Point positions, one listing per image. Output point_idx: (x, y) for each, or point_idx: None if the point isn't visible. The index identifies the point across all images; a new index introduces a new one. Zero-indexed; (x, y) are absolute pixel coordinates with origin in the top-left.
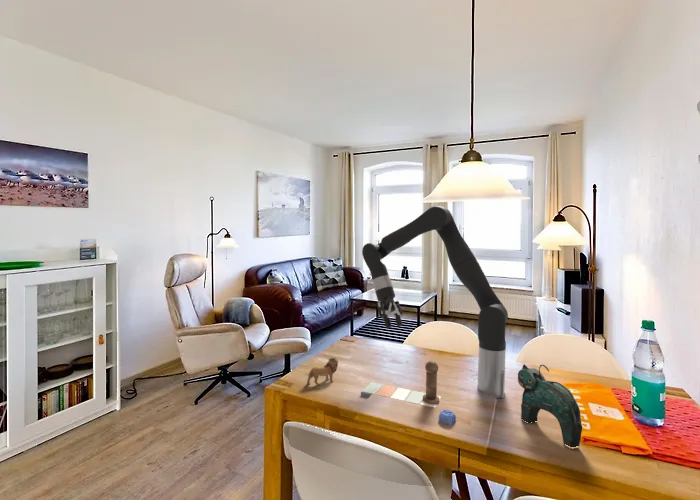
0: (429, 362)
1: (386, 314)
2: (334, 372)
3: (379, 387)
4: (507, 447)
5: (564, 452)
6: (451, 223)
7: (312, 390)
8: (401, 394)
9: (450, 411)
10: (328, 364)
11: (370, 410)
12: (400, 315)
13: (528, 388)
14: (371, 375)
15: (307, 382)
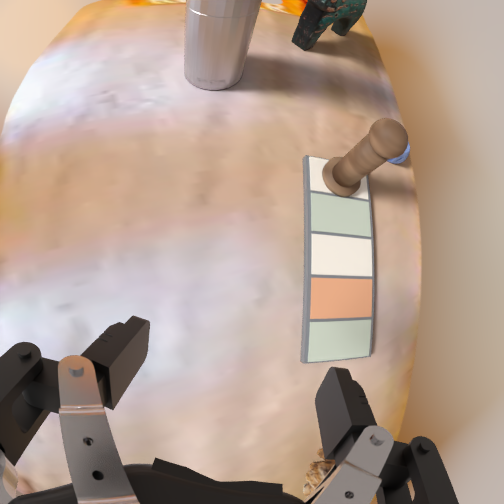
0: (406, 137)
1: (385, 456)
2: (321, 462)
3: (333, 325)
4: (386, 87)
5: (355, 41)
6: None
7: None
8: (347, 253)
9: None
10: None
11: (410, 301)
12: (78, 359)
13: (340, 8)
14: (232, 389)
15: None
